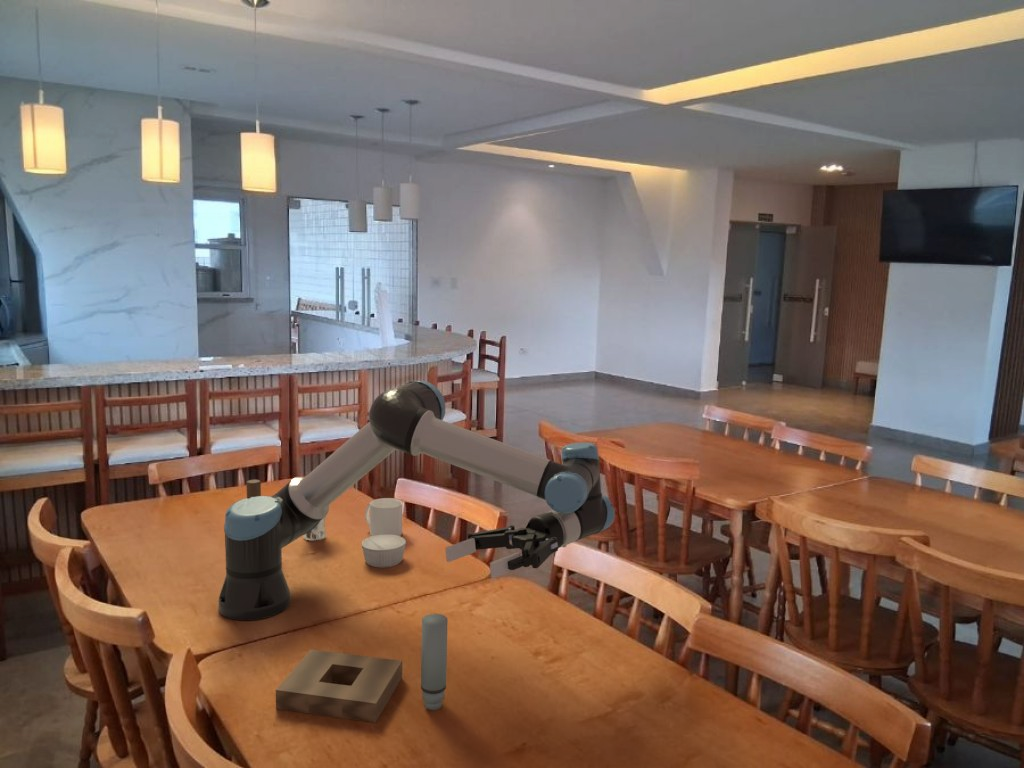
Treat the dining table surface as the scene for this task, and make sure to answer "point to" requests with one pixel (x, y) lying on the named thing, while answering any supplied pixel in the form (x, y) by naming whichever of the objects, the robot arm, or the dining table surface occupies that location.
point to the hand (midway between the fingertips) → (468, 562)
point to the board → (319, 696)
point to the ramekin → (383, 550)
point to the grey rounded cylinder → (434, 660)
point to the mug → (384, 517)
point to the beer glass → (317, 532)
